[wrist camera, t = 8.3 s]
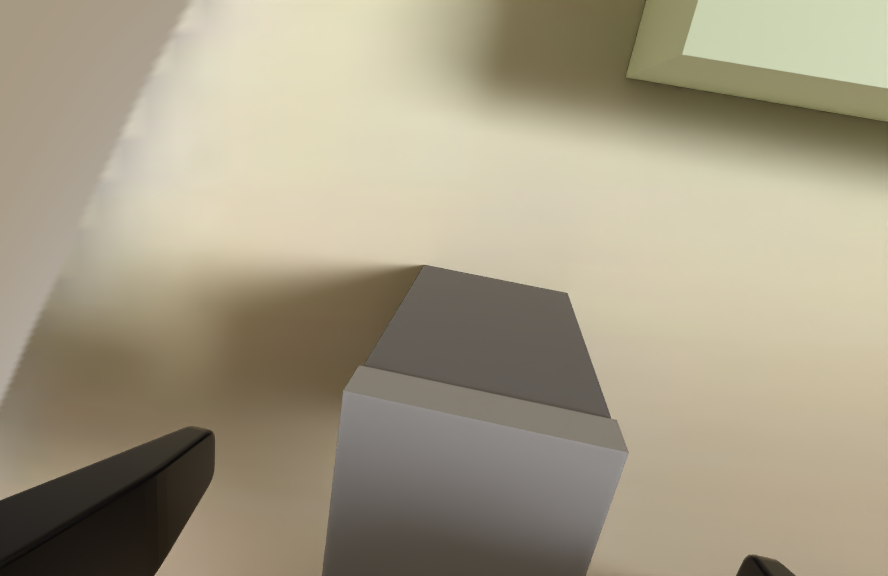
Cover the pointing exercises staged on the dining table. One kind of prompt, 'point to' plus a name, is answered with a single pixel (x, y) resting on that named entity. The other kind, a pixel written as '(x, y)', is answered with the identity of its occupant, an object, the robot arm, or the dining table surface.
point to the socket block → (770, 51)
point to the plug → (473, 439)
